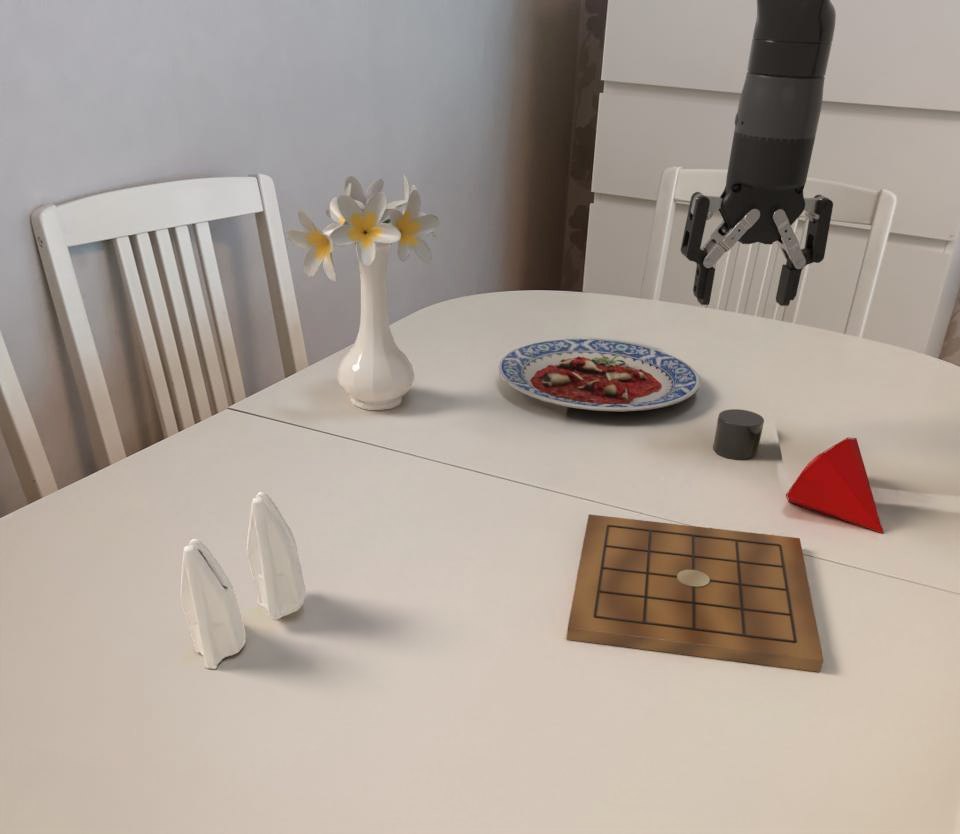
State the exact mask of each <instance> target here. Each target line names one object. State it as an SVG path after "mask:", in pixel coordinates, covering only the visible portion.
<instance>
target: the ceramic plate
mask: <svg viewBox="0 0 960 834" xmlns="http://www.w3.org/2000/svg"><path fill="white" fill-rule="evenodd" d="M498 373H499V375H500V377H501V378H502V380H503V381H504V382H505V383H506V384H507V385H508V386H510V387H511V388H513V389H515V390H516V391H518V392H520V393H522V394H523V395H526V396H528V397H531V398H533V399H536V400H539V401H542V402H545V403H548V404H553V405H557V406H562V407H566V408H572V409H579V410H588V411H597V412H599V411H600V412H636V411H649V410H655V409H661V408H665V407H670V406H673V405H675V404H679V403H681V402H683V401H685V400H687V399H689V398H691V397H692V396H693V395H694V394H696V393H697V391H698V390H699V387H700V385H701V378H700V375H699V374H698V372H697V371H696V370H695V369H694V368H693V366H691V364H688V363H687V362H685V361H684V360H682V359H680V358H678V357H676V356H674V355H672V354H669V353H667V352H664V351H662V350H658V349H655V348H652V347H648V346H644V345H640V344H635V343H630V342H623V341H617V340H615V341H614V340H606V339H595V338H594V339H593V338H589V339H588V338H570V339H569V338H567V339H566V338H565V339H555V340H553V339H552V340H545V341H540V342H534V343H531V344H528V345H523V346H521V347H520V346H519V347H518V348H516V349H513V350H511V351H510V352H508V353H506V354H505V355H504V356H503V357H502V358H501V359H500V361H499V363H498Z"/></svg>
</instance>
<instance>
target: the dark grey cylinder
mask: <svg viewBox="0 0 960 834" xmlns="http://www.w3.org/2000/svg"><path fill="white" fill-rule="evenodd" d="M764 424H765V419H764V417H763V416H762V415H760V414H759V413H757V412H754V411H751V410H747V409H739V408H734V409H733V408H732V409H725V410H722V411H721V412H719V413H718V417H717V421H716V427H715V433H714V437H713V438H714V439H713V443H712V450H713V451H714V453H716V455H719V456H720V457H722V458H726V459H730V460H737V461H741V460H743V461H744V460H751V459H753V458H755V457H757V455H758V451H759V447H760V443H761V438H762V433H763V428H764Z"/></svg>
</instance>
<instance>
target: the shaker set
mask: <svg viewBox="0 0 960 834" xmlns="http://www.w3.org/2000/svg"><path fill="white" fill-rule="evenodd" d="M182 551H183V553H182V563H181V576H180V591H179V593H180V595H179V596H180V603H181V608H182V611H183V613H184V614H183V615H184V617H185V620H186V623H187V626H188V630H189V633H190V636H191V640H192V643H193V645H194V650H195V652H196V653H200V655H202V656H203V658H204V667H205V668H207V669H208V670H209V669H211V670H216V669H217V667H218V665H219V663H221V662H222V661H223V659H226V657H227V658H229V657H231V656H233V655H236V654H238V653H239V652H240V651H241V650H242V648H243V647H244V646H245V644H246V642H247V641H246V639H247V631H246V628H245V625H244V621H243V617H242V613H241V610H240V606H239V603H238V599H237V595H236V593H235V589H234V586H233V583H232V582H231V579H230V578H229V577H228V575H227V574H226V572H225V570H224V568H223V567H222V566H221V565H220V563H219V561H218V560H217V559H216V557H215V556H214V555H213V553H212V552H211V551H210V549H209V548H208V547H207V546H206V544H204V542H203V541H202V540H200V539H197V538H191V539H190V540H189V543H188V545H186V546H184V548H183V550H182ZM246 555H247V560H248V564H249V568H250V569H249V570H250V572H251V576H252V581H253V585H254V589H255V593H256V598H257V603H258V605H259V606H260V607H261V608H262V609H263V610H264V611H265V612H266V613H267V617H268V618H269V619H272V620H279V619H281V618H282V617H286V616H289V615H292V614H293V613H295V612H298V611H299V610H300V609H301V607H302V606H303V604H304V602H305V601H306V597H307V588H306V585H305V579H304V573H303V570H302V565H301V560H300V554H299V551H298V546H297V542H296V538H295V536H294V534H293V531H292V530H291V527H290V526H289V525H288V523H287V521H286V518H284V516H283V514H282V513H281V511H280V510H279V507H277V505H276V503H275V502H274V501H273V500H272V498H271V497H270V496H269V494H268V493H266V492H264V491H263V492H262V491H259V492H258V493H256V495H255V497H254V498H253V499H252V501H251V505H250V513H249V521H248V531H247V539H246Z"/></svg>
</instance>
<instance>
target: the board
mask: <svg viewBox="0 0 960 834" xmlns="http://www.w3.org/2000/svg"><path fill="white" fill-rule="evenodd" d="M586 520H587V521H586V527H585V531H584V537H583V542H582V548H581V553H580V560H579V565H578V570H577V575H576V580H575V586H574V590H573V597H572V601H571V608H570V613H569V619H568V623H567V630H566V640H568V641H575V642H577V641H578V642H584V643H593V644H600V645H607V646H616V647H622V648H631V649H639V650H647V651H653V652H661V653H670V654H676V655H683V656H684V655H685V656H686V655H687V656H692V657H699V658H700V657H701V658H708V659H715V660H724V661H730V662H731V661H732V662H737V663H738V662H739V663H748V664H754V665H761V666H762V665H763V666H769V667H777V668H784V669H793V670H800V671H808V672H817V673H820V672H821V671H822V668H823V664H824V654H823V649H822V645H821V640H820V635H819V630H818V624H817V619H816V614H815V609H814V604H813V599H812V593H811V588H810V584H809V578H808V573H807V567H806V563H805V557H804V553H803V548H802V542H801V538H800V537H794V536H784V535H776V534H767V533H757V532H748V531H739V530H731V529H722V528H713V527H705V526H696V525H695V526H694V525H687V524H679V523H678V524H677V523H669V522H660V521H651V520H642V519H633V518H624V517H616V516H608V515H606V516H605V515H598V514H590V513H589V514H588V516H587V519H586Z"/></svg>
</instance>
